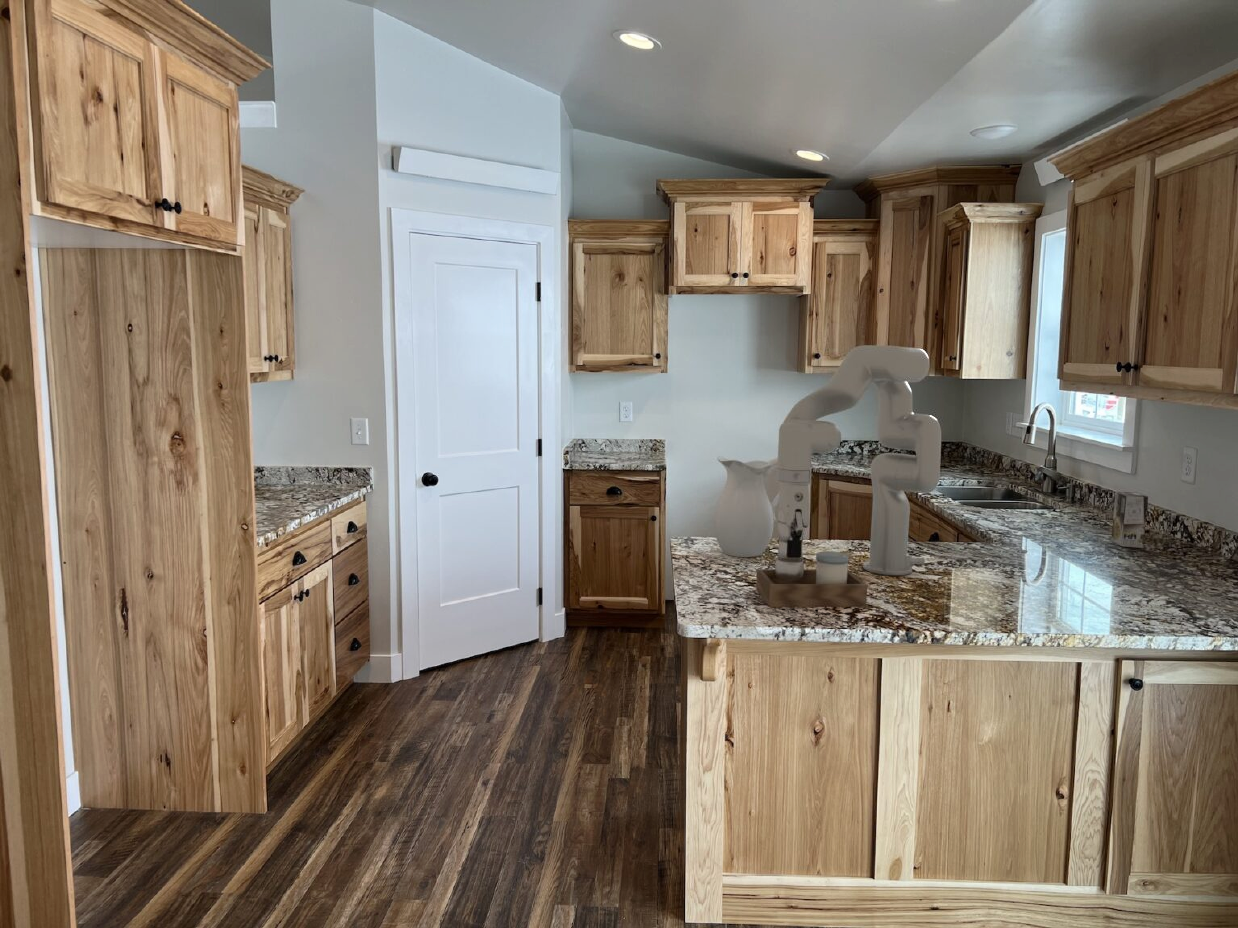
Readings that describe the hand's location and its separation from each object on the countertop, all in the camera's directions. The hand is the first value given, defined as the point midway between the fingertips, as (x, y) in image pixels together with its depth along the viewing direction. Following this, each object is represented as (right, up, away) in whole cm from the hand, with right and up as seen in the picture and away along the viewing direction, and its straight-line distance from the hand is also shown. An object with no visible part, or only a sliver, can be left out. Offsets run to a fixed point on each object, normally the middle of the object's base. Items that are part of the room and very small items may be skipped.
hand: (790, 553), depth 195 cm
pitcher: (0, -5, +50) cm, 51 cm away
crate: (+5, -11, +2) cm, 13 cm away
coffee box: (+120, -5, +69) cm, 138 cm away
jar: (+10, -11, +2) cm, 15 cm away
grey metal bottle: (0, -7, +1) cm, 7 cm away
